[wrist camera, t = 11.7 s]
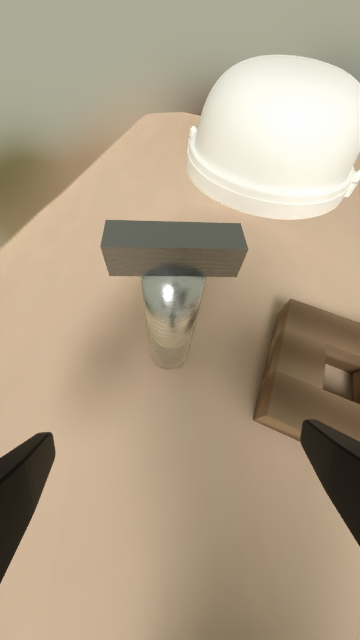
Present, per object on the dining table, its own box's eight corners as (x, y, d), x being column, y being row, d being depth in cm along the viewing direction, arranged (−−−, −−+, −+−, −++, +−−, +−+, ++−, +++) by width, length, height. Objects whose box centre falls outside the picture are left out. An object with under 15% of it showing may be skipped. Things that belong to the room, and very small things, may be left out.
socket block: (402, 487, 17) (444, 494, 15) (253, 420, 19) (267, 415, 16) (390, 356, 23) (418, 344, 20) (277, 314, 25) (290, 298, 22)
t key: (203, 368, 21) (252, 264, 9) (135, 370, 21) (97, 262, 9) (199, 335, 23) (237, 212, 11) (137, 336, 22) (108, 208, 11)
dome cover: (151, 183, 38) (145, 59, 26) (213, 126, 52) (228, 29, 40) (343, 246, 32) (449, 125, 20) (352, 162, 47) (417, 63, 35)
